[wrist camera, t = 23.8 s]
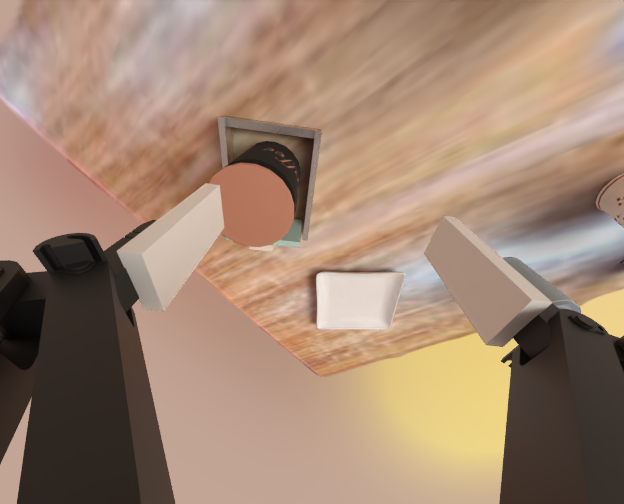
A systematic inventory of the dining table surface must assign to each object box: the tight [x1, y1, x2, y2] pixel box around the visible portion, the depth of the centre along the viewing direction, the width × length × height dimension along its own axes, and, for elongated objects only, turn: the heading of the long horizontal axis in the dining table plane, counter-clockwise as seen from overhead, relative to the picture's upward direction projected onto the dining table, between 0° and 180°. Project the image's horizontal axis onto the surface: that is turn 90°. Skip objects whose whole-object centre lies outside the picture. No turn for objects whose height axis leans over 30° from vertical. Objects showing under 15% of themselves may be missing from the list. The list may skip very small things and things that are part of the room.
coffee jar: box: [208, 141, 301, 247], centre depth 34 cm, size 11×11×18 cm
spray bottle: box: [503, 257, 581, 313], centre depth 44 cm, size 9×9×25 cm
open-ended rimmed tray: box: [217, 116, 322, 240], centre depth 41 cm, size 20×16×4 cm
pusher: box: [226, 219, 302, 251], centre depth 42 cm, size 1×13×11 cm, turn 83°
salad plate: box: [316, 271, 406, 329], centre depth 58 cm, size 21×21×3 cm
